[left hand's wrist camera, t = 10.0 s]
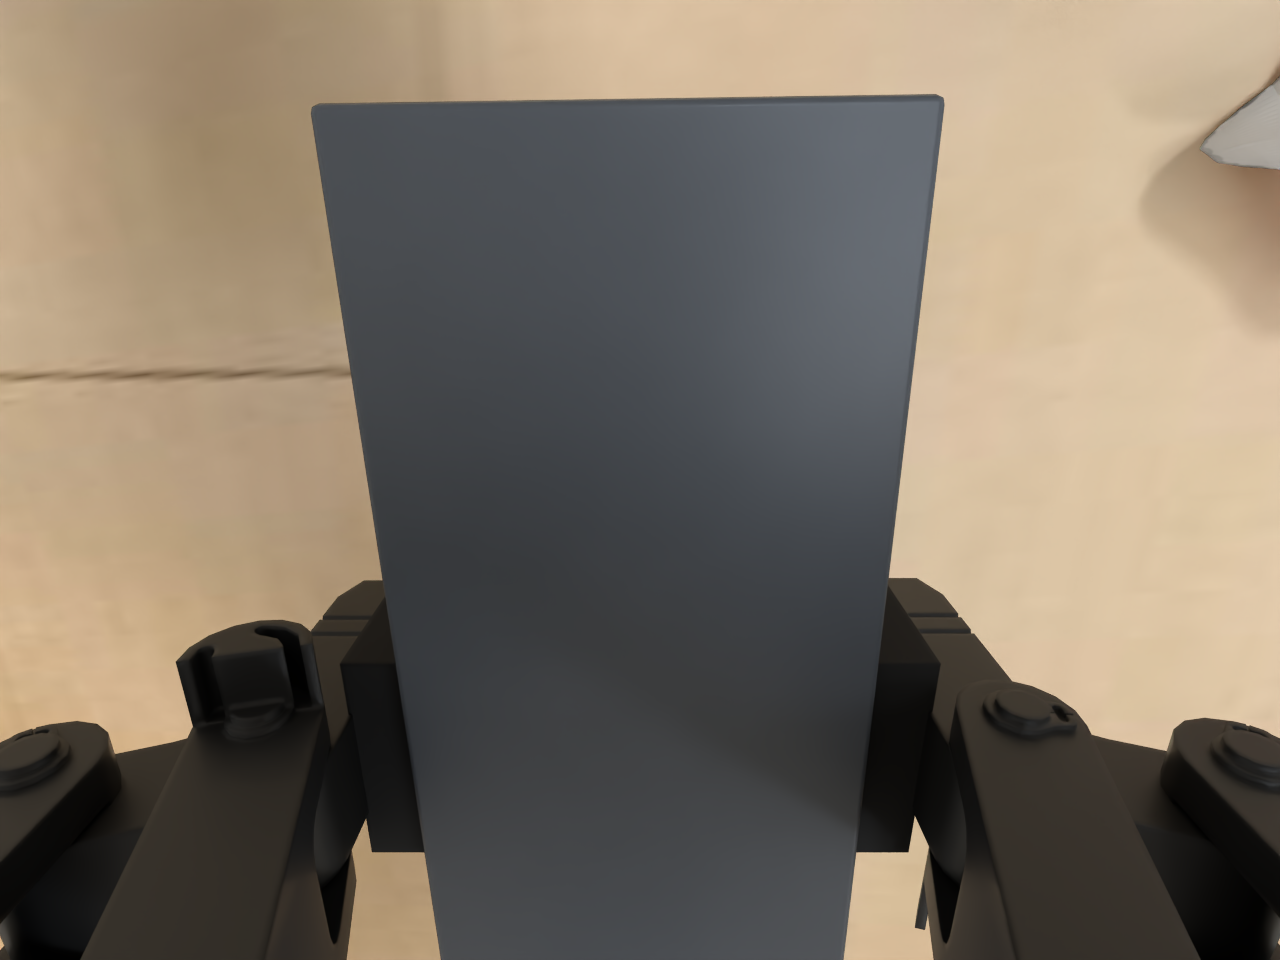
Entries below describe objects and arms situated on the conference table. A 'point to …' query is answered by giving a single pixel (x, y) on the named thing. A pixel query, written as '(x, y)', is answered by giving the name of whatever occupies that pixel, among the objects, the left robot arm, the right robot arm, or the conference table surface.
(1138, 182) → the conference table surface
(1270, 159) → the fish
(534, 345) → the beam
